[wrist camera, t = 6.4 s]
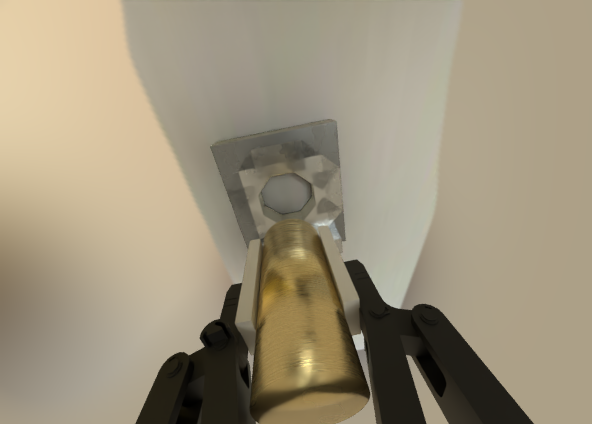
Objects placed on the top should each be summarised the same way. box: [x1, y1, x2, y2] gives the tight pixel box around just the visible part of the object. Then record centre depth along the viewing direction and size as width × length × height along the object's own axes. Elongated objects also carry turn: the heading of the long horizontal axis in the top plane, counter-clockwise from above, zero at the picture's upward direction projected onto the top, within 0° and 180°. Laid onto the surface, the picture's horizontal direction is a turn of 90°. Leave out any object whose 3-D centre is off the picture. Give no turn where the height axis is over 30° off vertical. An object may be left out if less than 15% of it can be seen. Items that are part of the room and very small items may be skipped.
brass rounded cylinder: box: [250, 219, 370, 424], centre depth 12 cm, size 4×4×10 cm
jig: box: [210, 119, 346, 253], centre depth 23 cm, size 14×12×5 cm
